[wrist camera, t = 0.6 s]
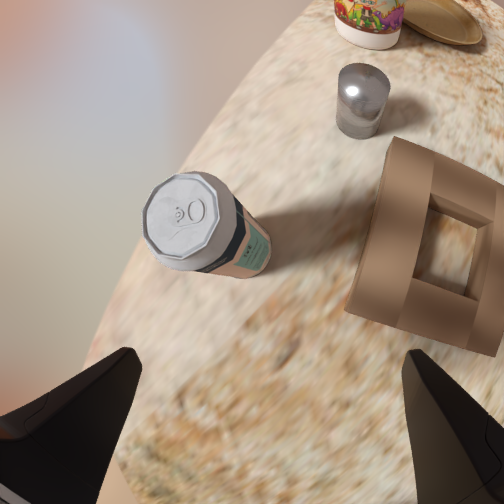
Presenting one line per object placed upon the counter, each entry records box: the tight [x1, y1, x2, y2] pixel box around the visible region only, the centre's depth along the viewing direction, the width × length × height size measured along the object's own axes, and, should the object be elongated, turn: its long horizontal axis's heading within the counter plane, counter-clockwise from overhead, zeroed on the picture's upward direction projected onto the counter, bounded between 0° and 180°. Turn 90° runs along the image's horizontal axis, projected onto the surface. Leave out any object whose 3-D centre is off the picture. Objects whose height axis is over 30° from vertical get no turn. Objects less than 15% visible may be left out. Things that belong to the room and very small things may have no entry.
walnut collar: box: [344, 136, 504, 357], centre depth 19 cm, size 14×14×3 cm
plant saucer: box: [403, 0, 482, 45], centre depth 21 cm, size 15×15×3 cm
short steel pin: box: [336, 63, 390, 139], centre depth 20 cm, size 4×4×6 cm
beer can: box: [141, 171, 272, 279], centre depth 18 cm, size 5×5×12 cm
